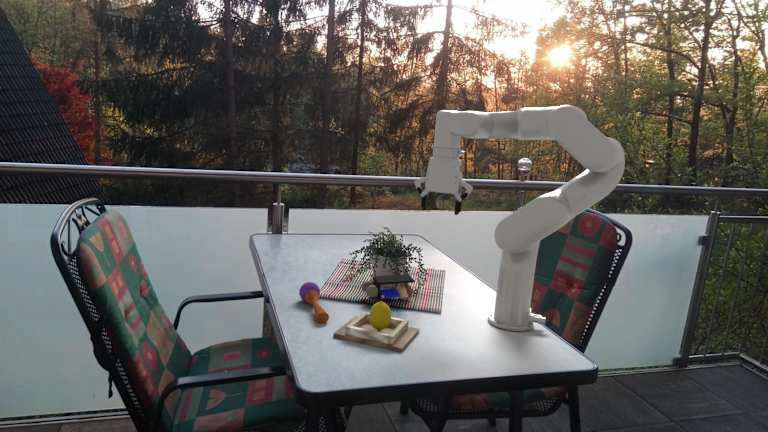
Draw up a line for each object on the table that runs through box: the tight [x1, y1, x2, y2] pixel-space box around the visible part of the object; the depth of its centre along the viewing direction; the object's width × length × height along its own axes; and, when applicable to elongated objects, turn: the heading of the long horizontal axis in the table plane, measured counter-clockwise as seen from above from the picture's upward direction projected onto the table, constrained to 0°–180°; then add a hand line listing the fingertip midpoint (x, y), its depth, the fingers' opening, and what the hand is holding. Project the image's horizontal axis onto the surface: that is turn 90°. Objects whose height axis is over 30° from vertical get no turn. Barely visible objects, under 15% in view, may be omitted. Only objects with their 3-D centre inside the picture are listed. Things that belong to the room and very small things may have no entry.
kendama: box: [298, 281, 330, 324], centre depth 154 cm, size 6×6×20 cm
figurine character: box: [360, 273, 416, 303], centre depth 167 cm, size 7×8×15 cm
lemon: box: [369, 300, 392, 331], centre depth 139 cm, size 6×6×8 cm
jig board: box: [333, 311, 420, 353], centre depth 140 cm, size 18×14×3 cm
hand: (440, 212), depth 162 cm, fingers open, 9 cm apart
